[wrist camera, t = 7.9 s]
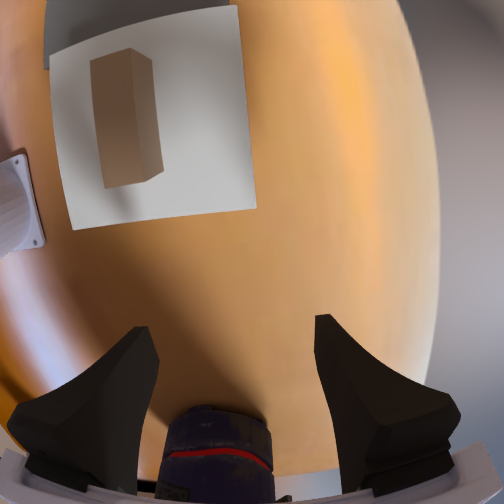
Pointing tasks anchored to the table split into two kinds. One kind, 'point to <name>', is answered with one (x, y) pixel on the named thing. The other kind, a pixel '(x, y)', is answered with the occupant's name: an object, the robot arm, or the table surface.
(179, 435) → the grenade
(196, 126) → the lid
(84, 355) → the table surface
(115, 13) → the mat
